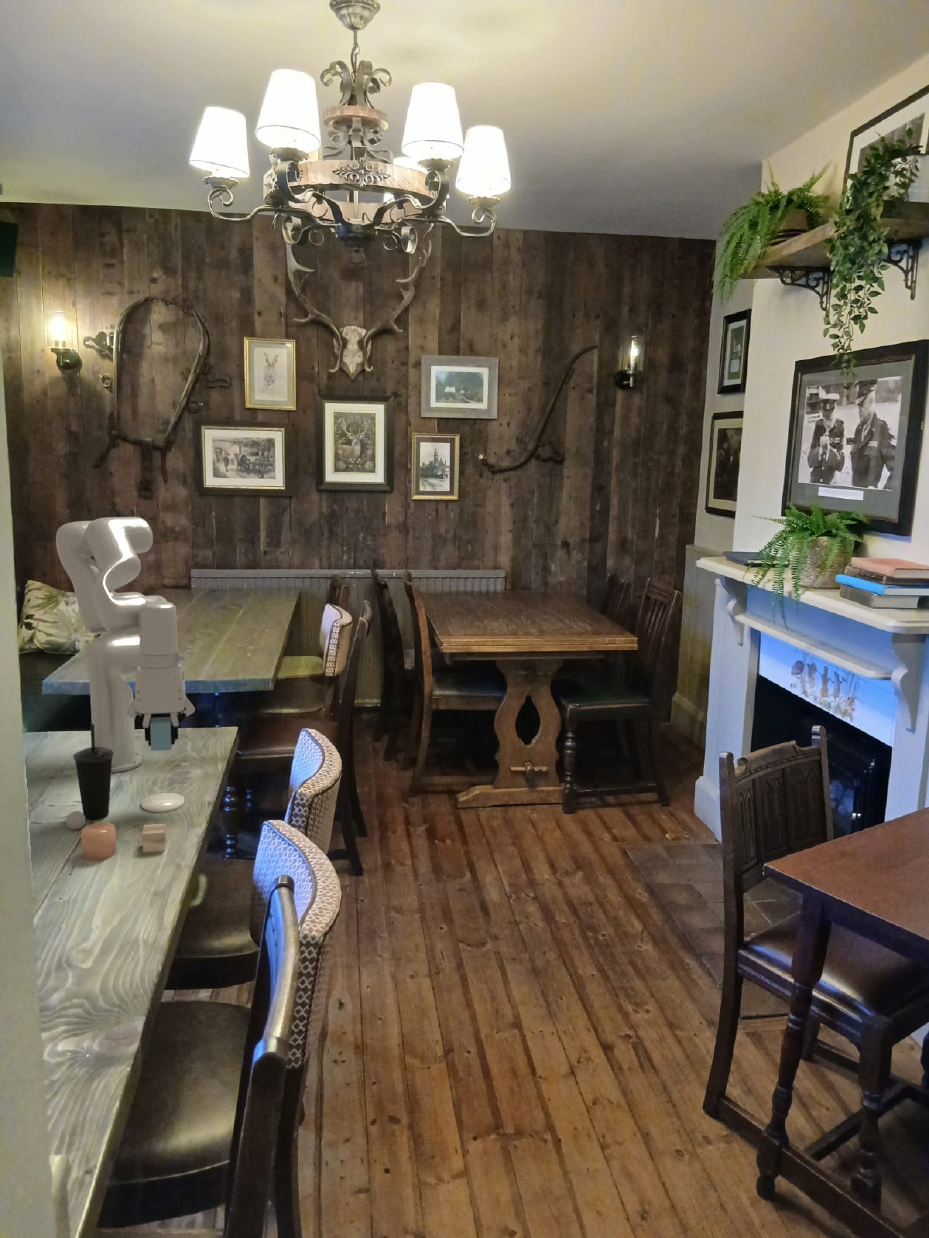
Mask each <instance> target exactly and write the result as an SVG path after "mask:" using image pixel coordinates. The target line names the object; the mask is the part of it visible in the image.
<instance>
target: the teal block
mask: <svg viewBox="0 0 929 1238" xmlns="http://www.w3.org/2000/svg"><path fill="white" fill-rule="evenodd" d="M150 722H151V723H150V730H151V746H150V749H151V750H150V751H153V752H155V751H156V752H157V751H170V750H171V751H172V748H173V745H172V744H171V724H172V719H171V716H169V717H168V716H164V717H152V718H150Z"/></svg>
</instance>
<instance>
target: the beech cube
mask: <svg viewBox="0 0 929 1238" xmlns="http://www.w3.org/2000/svg"><path fill="white" fill-rule="evenodd" d="M141 834H142V853H155V852H156V853H157V852H165V851H166V847H167V823H155V824H154V823H152V824H144V825H143V830H142V833H141Z"/></svg>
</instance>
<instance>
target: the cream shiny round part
mask: <svg viewBox="0 0 929 1238" xmlns="http://www.w3.org/2000/svg"><path fill="white" fill-rule="evenodd" d="M184 805H185V797H184V796H183V795H182V794H179V793H176V792H175V793H174V792H161V793H156V794H151V795H149V796H146V797H145V798H143V799H141V802H140V806H141V809H142V810H144V811H146V812H151V813H166V812H168V813H169V812H172V811H175V810H178V809H180V808H182V806H184Z"/></svg>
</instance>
